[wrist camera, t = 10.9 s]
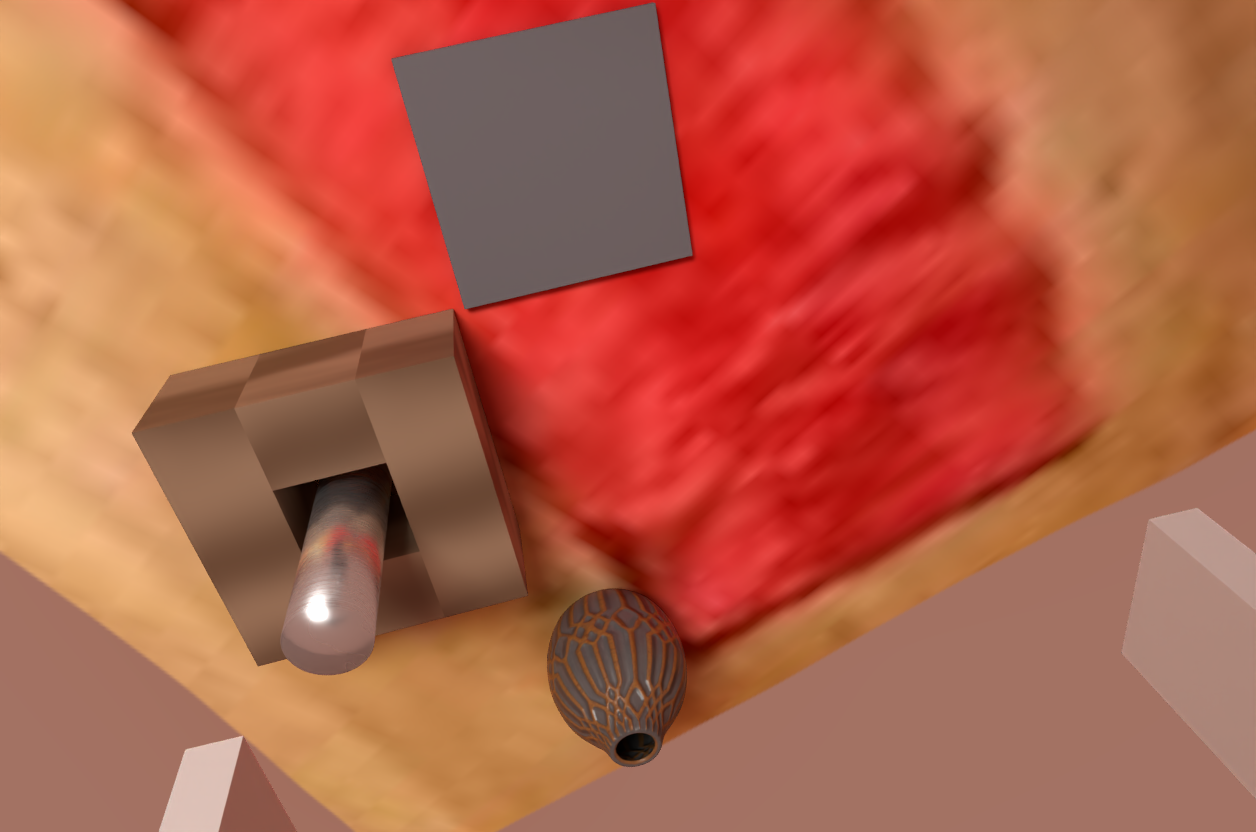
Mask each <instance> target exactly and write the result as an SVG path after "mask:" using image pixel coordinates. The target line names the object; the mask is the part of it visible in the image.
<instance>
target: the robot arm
mask: <svg viewBox="0 0 1256 832" xmlns="http://www.w3.org/2000/svg"><path fill="white" fill-rule="evenodd" d="M1121 653H1122V654H1123V655H1124V657H1125V658H1126V659H1127V660H1128V661H1129V662H1130V663H1131V664H1132V665H1133V666H1134V667H1135V669H1136V670H1137V671H1138V672H1139V673H1140V674H1141V675H1142V676H1143V677H1144V678H1145V679H1146V680H1147V682H1148V683H1149V684H1150V685H1151V686H1152V687H1153V688H1154V689H1155V690H1156V691H1157V692H1158V693H1159V695H1160V696H1161V697H1162V698H1163V699H1164V700H1165V701H1166V702H1167V703H1168V704H1169V705H1170V707H1171V708H1172V709H1173V710H1174V711H1175V712H1176V713H1177V714H1178V715H1179V716H1180V717H1181V718H1182V720H1183V721H1184V722H1185V723H1186V724H1187V725H1188V726H1189V727H1190V728H1191V729H1192V730H1193V732H1194V733H1195V734H1196V735H1197V736H1198V737H1199V738H1200V739H1201V740H1202V741H1203V742H1204V743H1205V745H1207V747H1208V748H1209V749H1210V750H1211V751H1212V752H1213V753H1214V754H1215V755H1216V757H1217V758H1218V759H1219V760H1220V761H1221V762H1222V763H1223V764H1224V765H1225V766H1226V767H1227V768H1228V770H1229V771H1230V772H1231V773H1232V774H1233V775H1234V776H1235V777H1236V778H1237V779H1238V780H1239V781H1240V782H1241V784H1242V785H1243V786H1244V787H1245V788H1246V789H1247V790H1248V791H1249V792H1250V793H1251V795H1252V796H1253V797H1254V798H1255V799H1256V553H1254V552H1253V551H1252V550H1251V549H1249V548H1248V547H1247V546H1245V545H1244V544H1243V543H1242V542H1240V541H1239V540H1238V539H1236V538H1235V537H1234V536H1233V535H1231V534H1230V533H1229V532H1227V531H1226V530H1225V529H1224V528H1222V527H1221V526H1220V525H1218V524H1217V523H1216V522H1214V521H1213V520H1212V519H1210V518H1209V517H1208V516H1207V515H1206V514H1204V513H1203V512H1202V511H1201V510H1199V509H1198V508H1194V509H1190V510H1186V511H1181V512H1177V513H1173V514H1169V515H1165V516H1160V517H1156V518H1152V519H1149V520H1148V525H1147V530H1146V535H1145V540H1144V545H1143V549H1142V555H1141V559H1140V564H1139V569H1138V574H1137V579H1136V584H1135V589H1134V594H1133V598H1132V603H1131V608H1130V613H1129V618H1128V623H1127V627H1126V633H1125V637H1124V642H1123V647H1122V652H1121ZM159 832H297V831H296V829H295V827H294V825H293V824H292V822H291V820H290V818H289V816H288V815H287V813H286V811H285V809H284V808H283V806H282V804H281V802H280V800H279V799H278V797H277V795H276V793H275V791H274V790H273V788H272V786H271V784H270V783H269V781H268V779H267V778H266V775H265V774H264V772H263V770H262V768H261V767H260V765H259V763H258V761H257V760H256V758H255V756H254V754H253V752H252V750H251V749H250V747H249V745H248V743H247V742H246V740H245V738H244V736H240V737H236V738H232V739H228V740H224V741H219V742H215V743H211V744H207V745H203V746H198V747H194V748H190V749H186V750H185V753H184V756H183V759H182V762H181V765H180V768H179V771H178V774H177V777H176V780H175V783H174V787H173V790H172V793H171V796H170V799H169V802H168V805H167V808H166V811H165V814H164V817H163V820H162V824H161V827H160V830H159Z"/></svg>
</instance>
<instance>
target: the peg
mask: <svg viewBox="0 0 1256 832" xmlns="http://www.w3.org/2000/svg"><path fill="white" fill-rule="evenodd" d="M391 485H392V476H391V474H390V471H389V468H388V466H387V463H383V464H379V465H375V466H371V467H367V468H363V469H359V470H355V471H351V472H346V473H342V474H338V475H334V476H330V477H326V478H322V479H319V484H318V488H317V492H316V496H315V500H314V504H313V508H312V512H311V516H310V520H309V524H308V528H307V532H306V536H305V540H304V544H303V548H302V552H301V556H300V560H299V564H298V568H297V572H296V577H295V581H294V585H293V589H292V593H291V597H290V601H289V605H288V609H287V613H286V617H285V621H284V625H283V629H282V633H281V639H280V644H281V649H282V651H283V653H284V655H285V657H286V658H287V659H288V660H289V661H290V662H291V663H292V664H293V665H295V666H296V667H298V668H299V669H301V670H304V671H306V672H309V673H313V674H318V675H336V674H341V673H345V672H348V671H351V670H353V669H355V668H357V667H358V666H360V665H361V664H362V663H364V662H365V661H366V660H367V658H368V657H369V656H370V654H371V652H372V650H373V647H374V642H375V632H376V623H377V614H378V605H379V596H380V586H381V577H382V568H383V559H384V550H385V540H386V531H387V522H388V513H389V504H390V494H391Z"/></svg>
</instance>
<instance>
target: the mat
mask: <svg viewBox="0 0 1256 832" xmlns="http://www.w3.org/2000/svg"><path fill="white" fill-rule="evenodd" d="M391 60H392V63H393V67H394V70H395V73H396V77H397V80H398V84H399V87H400V90H401V94H402V97H403V101H404V104H405V108H406V111H407V114H408V118H409V121H410V125H411V128H412V131H413V135H414V138H415V142H416V145H417V148H418V152H419V155H420V159H421V162H422V165H423V169H424V172H425V176H426V179H427V182H428V186H429V189H430V193H431V196H432V199H433V203H434V206H435V210H436V213H437V216H438V220H439V223H440V227H441V230H442V233H443V237H444V240H445V244H446V247H447V250H448V254H449V257H450V261H451V264H452V267H453V271H454V274H455V278H456V281H457V284H458V288H459V291H460V295H461V298H462V301H463V305H464V308H465V309H468V308H472V307H477V306H481V305H485V304H489V303H494V302H498V301H502V300H506V299H511V298H515V297H519V296H523V295H527V294H532V293H536V292H540V291H544V290H549V289H553V288H557V287H561V286H566V285H570V284H574V283H578V282H582V281H587V280H591V279H595V278H599V277H604V276H608V275H612V274H616V273H621V272H625V271H629V270H633V269H637V268H642V267H646V266H650V265H654V264H659V263H663V262H667V261H671V260H675V259H680V258H684V257H688V256H692V248H691V242H690V235H689V228H688V221H687V215H686V208H685V201H684V194H683V188H682V181H681V174H680V167H679V160H678V154H677V147H676V140H675V133H674V127H673V120H672V113H671V106H670V100H669V93H668V86H667V79H666V73H665V66H664V59H663V52H662V46H661V39H660V32H659V25H658V19H657V12H656V5H655V3H649V4H644V5H640V6H635V7H630V8H625V9H621V10H616V11H611V12H607V13H602V14H597V15H593V16H588V17H583V18H579V19H574V20H569V21H565V22H560V23H555V24H551V25H546V26H541V27H537V28H532V29H527V30H523V31H518V32H513V33H509V34H504V35H499V36H495V37H490V38H485V39H481V40H476V41H471V42H467V43H462V44H457V45H453V46H448V47H443V48H439V49H434V50H429V51H425V52H420V53H415V54H411V55H406V56H401V57H397V58H392V59H391Z"/></svg>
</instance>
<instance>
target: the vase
mask: <svg viewBox="0 0 1256 832" xmlns="http://www.w3.org/2000/svg"><path fill="white" fill-rule="evenodd" d="M547 672H548V681H549V686H550V691H551V694H552V697H553V700H554V702H555V704H556V706H557V708H558V710H559V712H560V714H561V716H562V717H563V719H564V720H565V722H566V723H567V724H568V726H569V727H570V728H571V729H572V730H573V731H574V732H575V733H576V734H577V735H578V736H580V737H581V738H582V739H584V740H585V741H587V742H589V743H590V744H592V745H594V746H596V747H598V748H600V749H602V750H604V751H605V752H606V753H607V754H608V755H609V756H610V758H611V759H612V760H613V761H614V762H616V763H617V764H619V765H622V766H626V767H635V766H640V765H643V764H646V763H648V762H650V761H651V760H652V759H654V758H655V757H656V756H657V755H658V753H659V751H660V749H661V747H662V742H663V738H664V735H665V733H666V732H667V731H668V729H669V728H670V726H671V725H672V723H673V722H674V720H675V718H676V717H677V715H678V713H679V711H680V709H681V706H682V704H683V700H684V696H685V691H686V682H687V666H686V658H685V653H684V650H683V646H682V643H681V641H680V638H679V635H678V633H677V631H676V629H675V627H674V625H673V624H672V622H671V621H670V619H669V618H668V617H667V615H666V614H665V613H664V612H663V611H662V610H661V609H660V608H659V607H658V606H657V605H656V604H655V603H654V602H652V601H651V600H650V599H648V598H647V597H645V596H643V595H641V594H639V593H636V592H632V591H629V590H624V589H605V590H600V591H596V592H593V593H590V594H588V595H586V596H584V597H582V598H580V599H579V600H577V601H576V602H575V603H573V604H572V605H571V606H570V607H569V608H568V609H567V610H566V611H565V612H564V613H563V615H562V616H561V617H560V619H559V621H558V622H557V624H556V626H555V629H554V631H553V633H552V636H551V640H550V643H549V649H548V655H547Z"/></svg>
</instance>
